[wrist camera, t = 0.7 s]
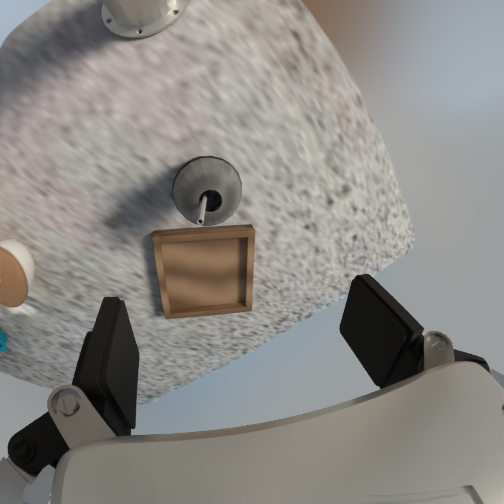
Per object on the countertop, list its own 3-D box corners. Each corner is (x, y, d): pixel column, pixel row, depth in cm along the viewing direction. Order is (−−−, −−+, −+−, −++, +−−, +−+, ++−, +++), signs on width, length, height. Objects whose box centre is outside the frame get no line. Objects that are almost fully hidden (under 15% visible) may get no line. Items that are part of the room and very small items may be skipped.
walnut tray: (153, 230, 40) (152, 237, 38) (251, 224, 43) (254, 230, 41) (165, 310, 47) (165, 319, 44) (248, 302, 50) (251, 310, 48)
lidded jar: (49, 247, 36) (26, 276, 28) (37, 292, 39) (18, 324, 31) (5, 218, 32) (-24, 241, 24) (-4, 265, 34) (-27, 292, 26)
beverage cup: (230, 189, 40) (269, 248, 23) (182, 201, 39) (181, 271, 22) (221, 141, 36) (255, 160, 19) (170, 153, 36) (155, 183, 18)
